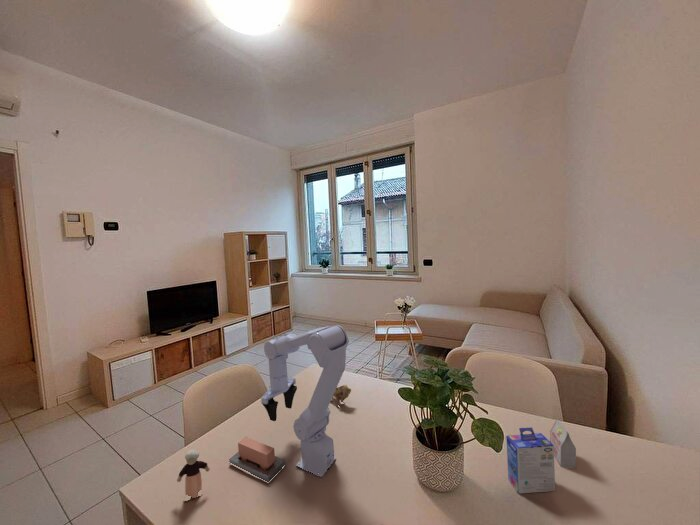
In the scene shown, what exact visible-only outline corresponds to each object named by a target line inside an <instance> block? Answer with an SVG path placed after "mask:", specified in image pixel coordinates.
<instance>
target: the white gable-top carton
mask: <svg viewBox="0 0 700 525" xmlns="http://www.w3.org/2000/svg"><path fill="white" fill-rule="evenodd" d="M549 436H550V437H549V441H550V442H551V443H552V444H553V445H554V459H555V460H556V461H557V463H558V465H559V466H560V467H561V468H562V467H563V468H569V469H577V454H576V453H577V448H576V445H575V444H574V442H573V441H572V439H571V436H570V433H569V432H568V430H566V428H565V426H564V425H563V424H562V423H561V422H560V420H559V419H558V418H556V419H555V421H554V423H553V425H552V428H551V429H550V431H549Z"/></svg>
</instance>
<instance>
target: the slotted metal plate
mask: <svg viewBox="0 0 700 525" xmlns="http://www.w3.org/2000/svg"><path fill="white" fill-rule="evenodd" d="M228 462H230V463H232V464H234V465H236V466H238V467H240V468H242V469H244V470H246V471H248V472H250V473H251V474H253V475H255V476H257V477H259V478H261V479H263V480H265V481H267V482H269V481H270V480H271V479H272V478H273V477H274V476H275V475H276V474H277V473H278V472H279V471H280V470H281V469H282V467H283V466H284V465H285V466H286V459H283V458H281V457H278V456H276V455H275V462H274V463H273V464H272V465H271V466H270V467H269V468H268V469H267V470H266V471H264V470H261V469H260V465H259V464H257V463H255V462H253V461H250V460H248V461H247V462H244V461H242V460H241V456H239V451H237V452H236V453H235V454H233V455H232V456H231V457H230V458H229V459H228ZM230 463H229V464H230ZM282 470H283V469H282ZM282 470H281V471H282Z"/></svg>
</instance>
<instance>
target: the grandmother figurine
mask: <svg viewBox="0 0 700 525" xmlns="http://www.w3.org/2000/svg"><path fill="white" fill-rule="evenodd" d="M199 457H200V452H199V450H197V449H194V448H193V449H190V450H188V451H187V452H186V454H185V456H184V458H185V459H184V460H186V464H185V465H184V466H183V467H182V469H181V470H180V472H179V474H178V477H177V479H176V481H177V483H180V482H181V481H182V478H183V477H184V476H185V477H184V478H185V480H184V481H185V484H184V486H185V487H184V488H185V490H184V492H185V493H184V494H185V496H186V495H188V496H191V497H192V499H196V498H195V497H197V496H198V492H199V491H200V490H202V489H203V487H202V485H203V484H202V483H203V481H202V480H203V479H202V472H201V470H202V469H203V470H205V472H206V473H207V472H209V471H210V470H211V468H210V466H209V465H208V462H205V461H202V460H198V459H199ZM200 469H201V470H200Z"/></svg>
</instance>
